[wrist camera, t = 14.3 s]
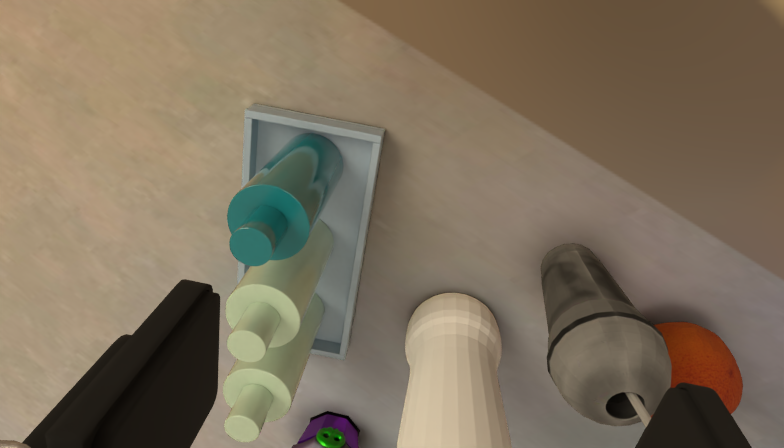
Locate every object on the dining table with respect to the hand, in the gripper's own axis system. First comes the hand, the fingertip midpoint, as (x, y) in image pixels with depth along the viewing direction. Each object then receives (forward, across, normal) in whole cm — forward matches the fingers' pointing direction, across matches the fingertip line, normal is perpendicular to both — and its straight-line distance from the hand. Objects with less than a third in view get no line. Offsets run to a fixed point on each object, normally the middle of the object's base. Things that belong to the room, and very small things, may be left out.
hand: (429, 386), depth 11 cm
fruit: (+30, -23, +18) cm, 42 cm away
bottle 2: (+29, +9, +21) cm, 37 cm away
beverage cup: (+30, -13, +12) cm, 35 cm away
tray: (+30, +9, +14) cm, 34 cm away
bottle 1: (+29, +9, +14) cm, 34 cm away
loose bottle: (+29, +9, +7) cm, 32 cm away
